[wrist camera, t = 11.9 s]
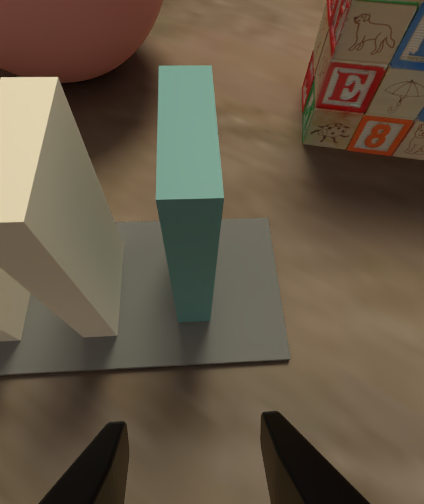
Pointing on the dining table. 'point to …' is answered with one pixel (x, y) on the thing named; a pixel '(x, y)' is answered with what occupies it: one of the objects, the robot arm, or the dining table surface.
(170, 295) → the domino mat
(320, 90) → the stack of blocks
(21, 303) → the domino
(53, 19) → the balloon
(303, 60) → the dining table surface
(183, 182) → the teal domino
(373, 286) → the dining table surface
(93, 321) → the domino
